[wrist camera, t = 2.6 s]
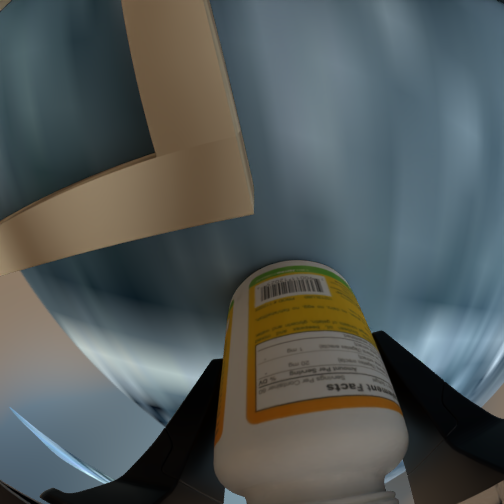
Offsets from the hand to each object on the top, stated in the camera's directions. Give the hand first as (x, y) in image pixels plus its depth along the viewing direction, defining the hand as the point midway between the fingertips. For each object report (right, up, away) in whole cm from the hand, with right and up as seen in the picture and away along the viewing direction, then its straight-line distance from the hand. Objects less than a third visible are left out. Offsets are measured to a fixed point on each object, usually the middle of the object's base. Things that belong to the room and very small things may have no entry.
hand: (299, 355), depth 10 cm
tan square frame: (-11, +11, -3) cm, 15 cm away
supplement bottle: (0, +1, +2) cm, 3 cm away
